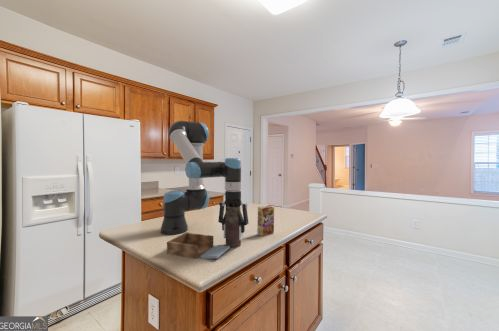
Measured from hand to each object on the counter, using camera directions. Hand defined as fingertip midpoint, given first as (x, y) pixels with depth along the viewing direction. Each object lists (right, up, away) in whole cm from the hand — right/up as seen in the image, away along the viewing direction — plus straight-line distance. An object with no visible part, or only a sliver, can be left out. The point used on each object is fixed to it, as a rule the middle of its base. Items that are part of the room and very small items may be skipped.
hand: (233, 238), depth 110 cm
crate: (-18, -4, -6) cm, 20 cm away
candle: (0, -4, 0) cm, 4 cm away
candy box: (+17, -4, +19) cm, 26 cm away
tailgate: (-11, -3, -9) cm, 14 cm away
